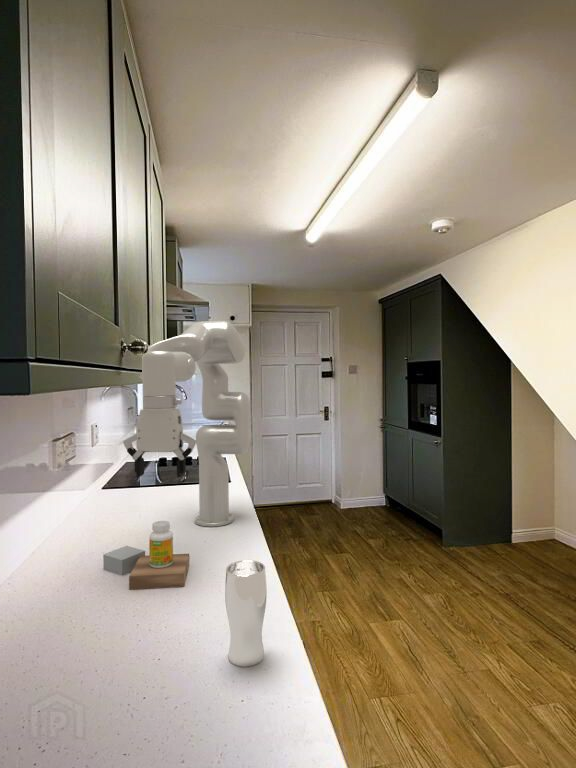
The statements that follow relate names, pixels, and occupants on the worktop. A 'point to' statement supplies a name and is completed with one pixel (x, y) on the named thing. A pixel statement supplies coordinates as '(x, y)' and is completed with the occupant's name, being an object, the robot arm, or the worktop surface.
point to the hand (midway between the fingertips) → (160, 475)
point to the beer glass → (245, 611)
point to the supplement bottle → (161, 545)
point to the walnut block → (159, 573)
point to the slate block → (122, 560)
